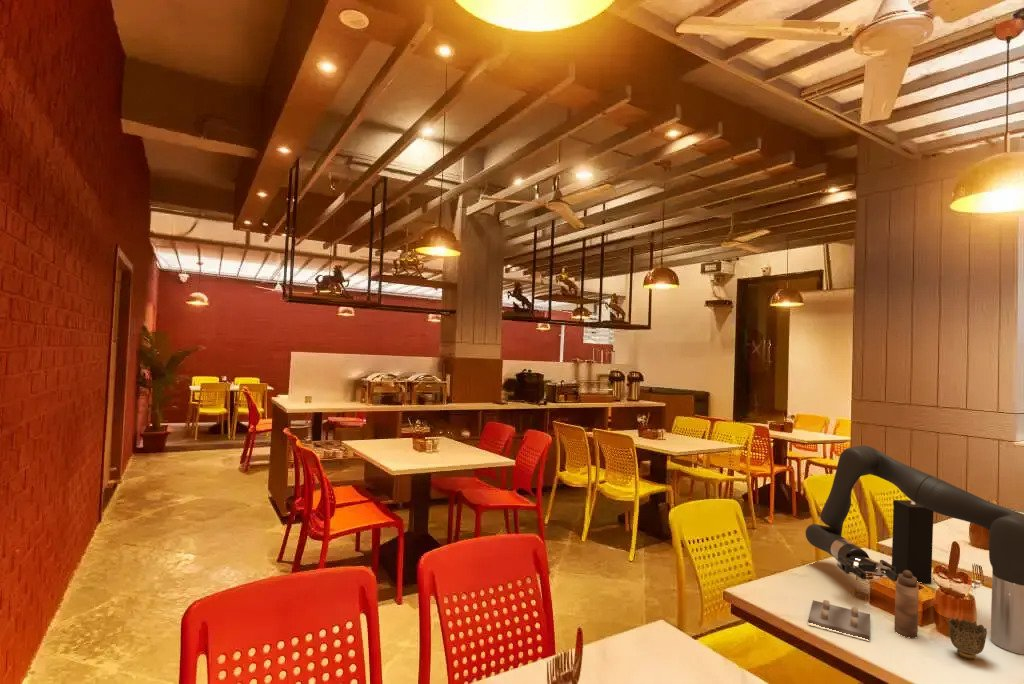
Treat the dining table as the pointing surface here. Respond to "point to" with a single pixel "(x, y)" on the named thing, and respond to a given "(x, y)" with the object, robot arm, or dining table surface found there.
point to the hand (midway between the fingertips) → (880, 577)
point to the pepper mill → (906, 605)
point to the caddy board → (840, 619)
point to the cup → (967, 637)
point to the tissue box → (912, 539)
